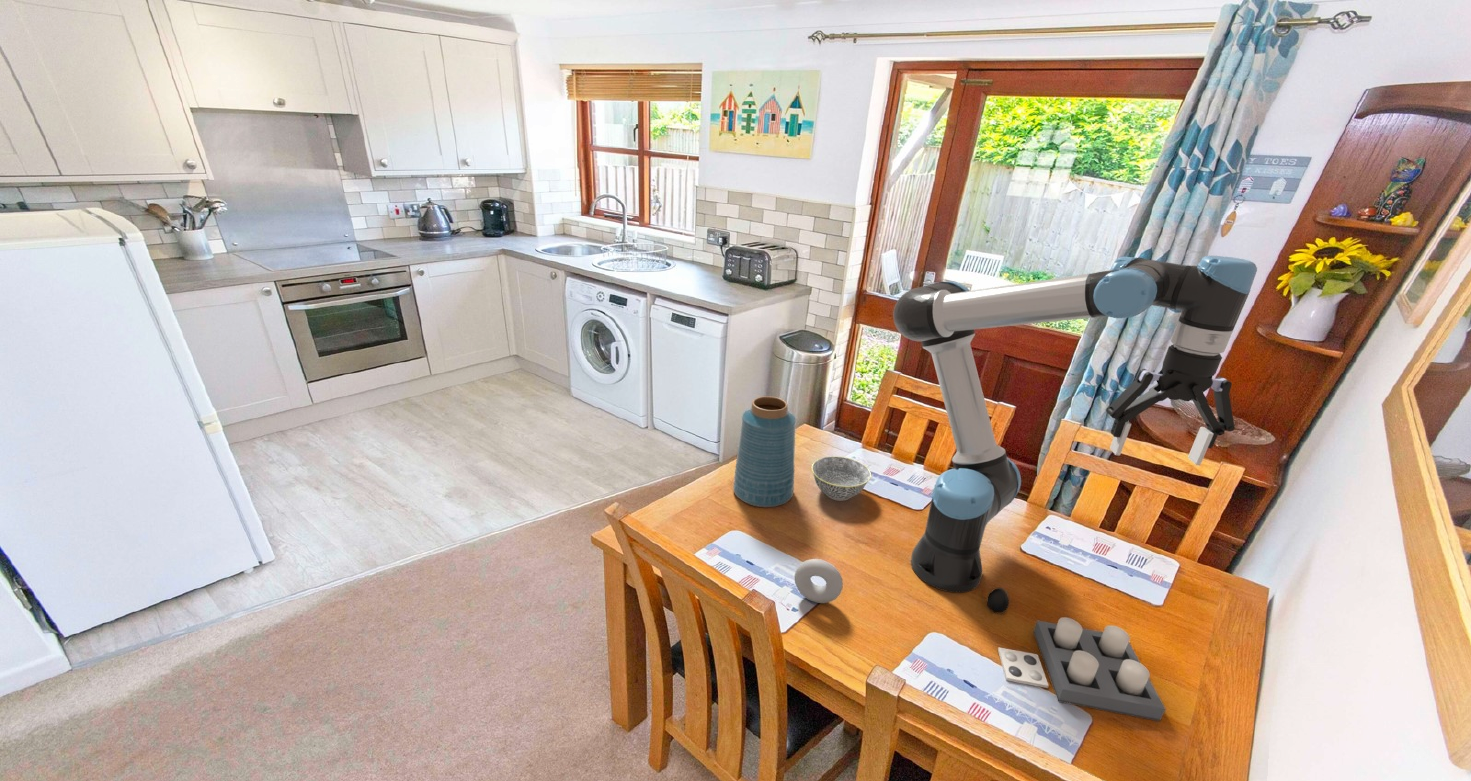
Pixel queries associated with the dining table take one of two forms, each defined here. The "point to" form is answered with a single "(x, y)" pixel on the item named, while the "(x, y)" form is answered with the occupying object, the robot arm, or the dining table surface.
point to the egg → (998, 600)
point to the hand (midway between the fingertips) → (1153, 456)
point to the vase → (766, 454)
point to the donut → (822, 570)
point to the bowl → (840, 477)
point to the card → (1022, 667)
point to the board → (1104, 685)
